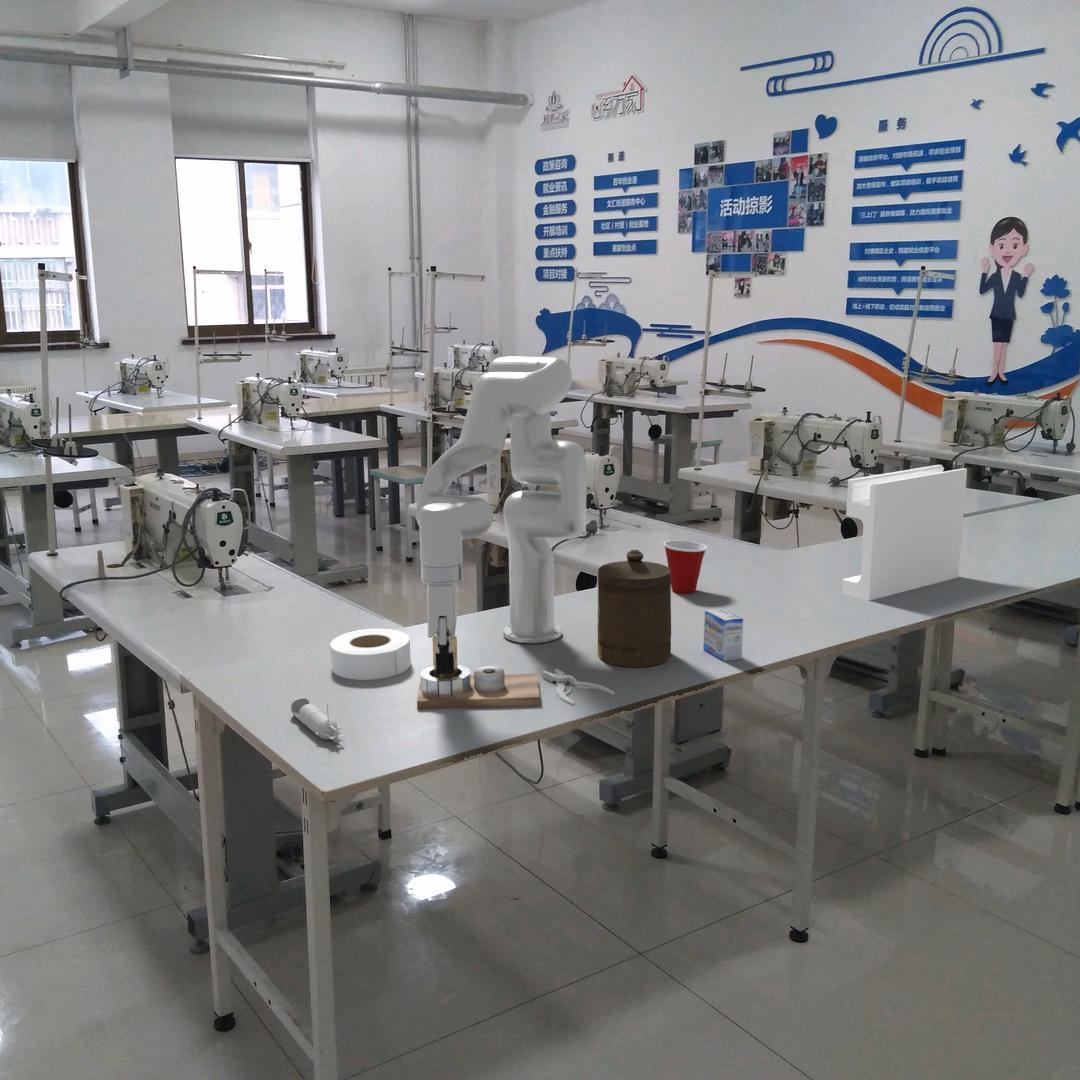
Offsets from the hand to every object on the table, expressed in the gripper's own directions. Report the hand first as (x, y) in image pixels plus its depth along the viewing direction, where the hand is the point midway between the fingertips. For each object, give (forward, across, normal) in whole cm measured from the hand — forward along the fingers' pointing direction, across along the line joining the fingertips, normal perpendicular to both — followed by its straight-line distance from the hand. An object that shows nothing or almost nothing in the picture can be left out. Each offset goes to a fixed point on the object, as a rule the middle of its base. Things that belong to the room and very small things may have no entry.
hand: (445, 667), depth 196 cm
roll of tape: (+6, -17, -16) cm, 24 cm away
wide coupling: (+4, 0, 0) cm, 4 cm away
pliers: (+6, -2, +23) cm, 24 cm away
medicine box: (+6, -18, +56) cm, 59 cm away
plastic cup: (+6, -65, +56) cm, 86 cm away
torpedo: (+6, +14, -22) cm, 26 cm away
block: (+6, -65, +111) cm, 129 cm away
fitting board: (+6, 0, +6) cm, 8 cm away
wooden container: (+6, -19, +38) cm, 42 cm away
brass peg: (+2, 0, 0) cm, 2 cm away
